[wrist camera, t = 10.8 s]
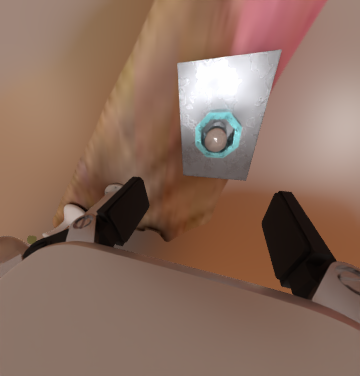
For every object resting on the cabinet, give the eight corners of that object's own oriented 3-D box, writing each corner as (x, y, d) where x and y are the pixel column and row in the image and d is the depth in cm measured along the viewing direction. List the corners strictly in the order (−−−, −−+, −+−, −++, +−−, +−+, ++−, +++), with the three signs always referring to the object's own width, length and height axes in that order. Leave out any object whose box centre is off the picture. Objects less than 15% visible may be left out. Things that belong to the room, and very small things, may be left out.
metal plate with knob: (245, 178, 29) (249, 198, 24) (184, 173, 33) (176, 189, 28) (279, 51, 18) (302, 34, 12) (179, 64, 21) (163, 55, 16)
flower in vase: (91, 209, 56) (20, 273, 37) (92, 223, 63) (34, 282, 44) (62, 196, 56) (-24, 252, 37) (67, 211, 63) (-2, 265, 44)
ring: (234, 150, 26) (236, 158, 23) (198, 149, 27) (195, 156, 24) (242, 108, 22) (245, 111, 18) (199, 109, 23) (195, 112, 20)
